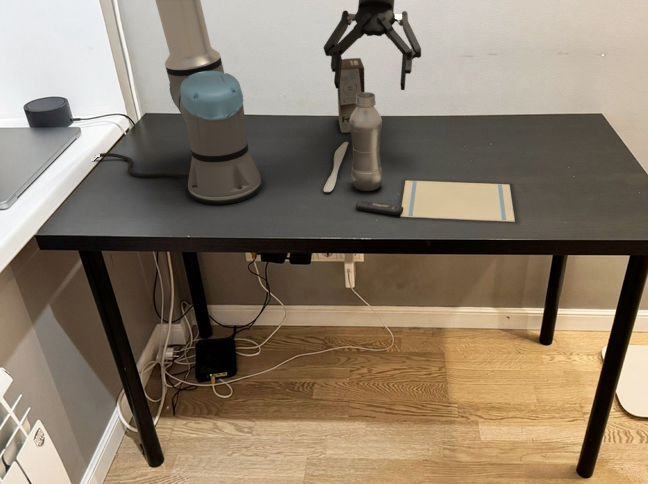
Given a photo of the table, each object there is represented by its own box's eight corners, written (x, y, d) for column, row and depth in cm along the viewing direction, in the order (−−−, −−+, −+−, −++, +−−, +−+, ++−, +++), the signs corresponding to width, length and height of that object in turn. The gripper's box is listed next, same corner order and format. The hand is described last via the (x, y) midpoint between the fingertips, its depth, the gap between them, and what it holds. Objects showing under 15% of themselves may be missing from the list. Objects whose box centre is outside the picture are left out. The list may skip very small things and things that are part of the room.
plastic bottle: (379, 195, 134) (379, 101, 123) (348, 193, 135) (345, 99, 125) (385, 182, 139) (385, 90, 129) (354, 180, 141) (352, 89, 130)
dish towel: (400, 217, 127) (400, 216, 127) (405, 181, 140) (405, 180, 140) (514, 222, 124) (514, 221, 124) (509, 185, 137) (509, 184, 137)
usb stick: (354, 210, 129) (354, 203, 128) (359, 204, 131) (359, 197, 130) (399, 217, 126) (399, 210, 125) (404, 211, 128) (404, 204, 127)
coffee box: (366, 131, 164) (365, 68, 155) (340, 133, 163) (338, 69, 154) (362, 118, 171) (360, 57, 162) (337, 120, 171) (335, 58, 162)
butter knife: (318, 190, 135) (332, 190, 135) (339, 141, 158) (351, 141, 157) (318, 193, 136) (332, 193, 135) (339, 144, 158) (351, 143, 158)
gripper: (316, -18, 135) (306, 75, 131) (436, -18, 132) (430, 78, 128) (322, 3, 142) (313, 93, 138) (436, 4, 139) (430, 96, 135)
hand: (369, 86), depth 133 cm, fingers open, 13 cm apart
